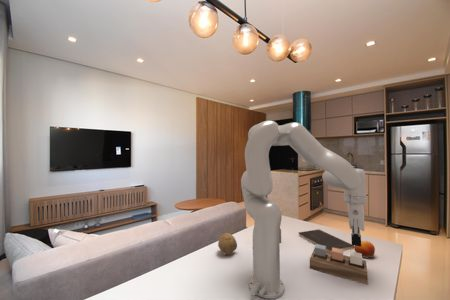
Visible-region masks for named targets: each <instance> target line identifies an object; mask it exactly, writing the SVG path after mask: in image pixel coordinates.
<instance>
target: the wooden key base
mask: <svg viewBox="0 0 450 300" xmlns="http://www.w3.org/2000/svg"><path fill="white" fill-rule="evenodd" d="M309 270H315V271H319V272H322V273H325V274H329V275H333V276H335V277H340V278H344V279H347V280H350V281H355V282H357V283H360V284H363V285H364V284H365V285H368V284H369V278H368V276H369V274H368V266H367V260H366V259H363V258H362V266H361V265H357V264H353V263H350V255H349V256H348V255H345V254H343V261H340V260H336V259H332V252H327V251H326V255H325V257H324V256H319V255H315V248H313V251H312V253H311V255H310V257H309Z"/></svg>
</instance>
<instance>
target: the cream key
mask: <svg viewBox="0 0 450 300" xmlns="http://www.w3.org/2000/svg"><path fill="white" fill-rule="evenodd" d="M349 257H350V263H353V264H357V265H361V266H362V259H363V257H362V254H361V253H356V251H350V252H349Z"/></svg>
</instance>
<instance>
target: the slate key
mask: <svg viewBox="0 0 450 300" xmlns="http://www.w3.org/2000/svg"><path fill="white" fill-rule="evenodd" d="M314 249H315V255H319V256H324V257H325V255H326V246H324V245H319V244H316V245H315V246H314Z"/></svg>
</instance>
